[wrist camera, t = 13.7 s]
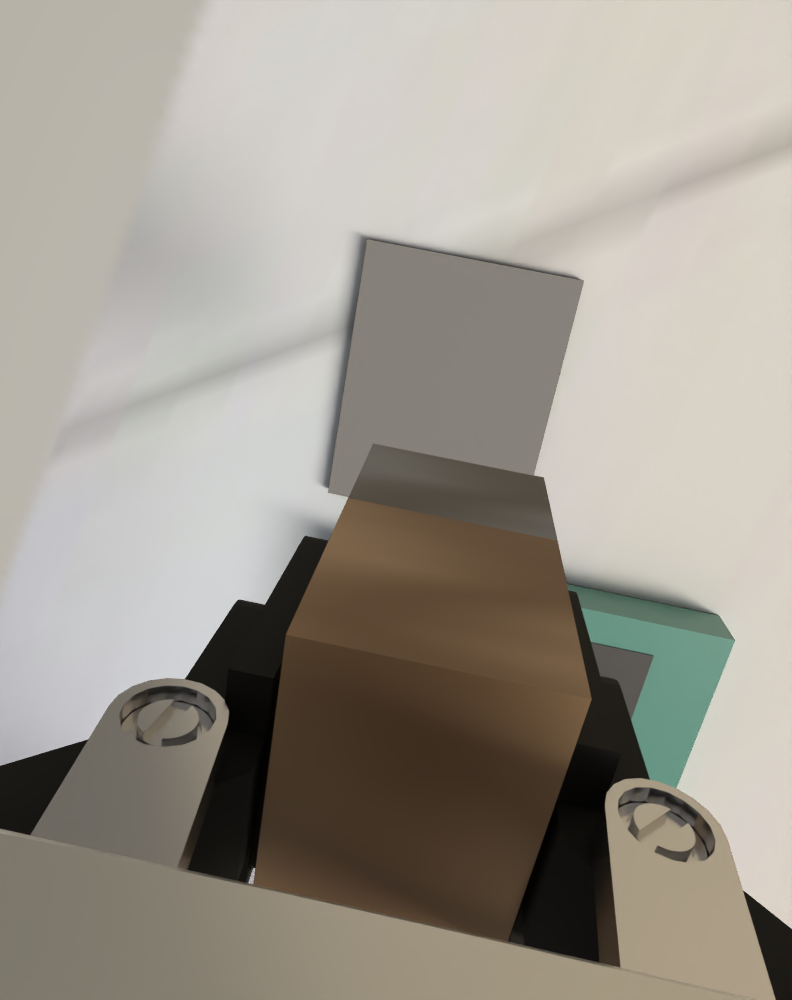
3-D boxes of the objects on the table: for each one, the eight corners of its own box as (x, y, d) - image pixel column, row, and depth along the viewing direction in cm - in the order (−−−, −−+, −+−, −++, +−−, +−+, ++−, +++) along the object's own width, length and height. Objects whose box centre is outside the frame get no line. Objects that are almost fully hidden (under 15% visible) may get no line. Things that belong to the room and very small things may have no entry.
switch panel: (719, 615, 30) (735, 640, 28) (635, 833, 34) (644, 868, 32) (345, 537, 31) (337, 557, 29) (308, 760, 35) (298, 790, 33)
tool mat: (582, 280, 26) (584, 280, 26) (518, 528, 30) (518, 532, 29) (368, 239, 27) (367, 239, 26) (330, 489, 30) (328, 492, 30)
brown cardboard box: (544, 477, 12) (591, 700, 7) (492, 666, 14) (497, 969, 8) (372, 443, 12) (285, 635, 7) (341, 634, 14) (249, 913, 9)
